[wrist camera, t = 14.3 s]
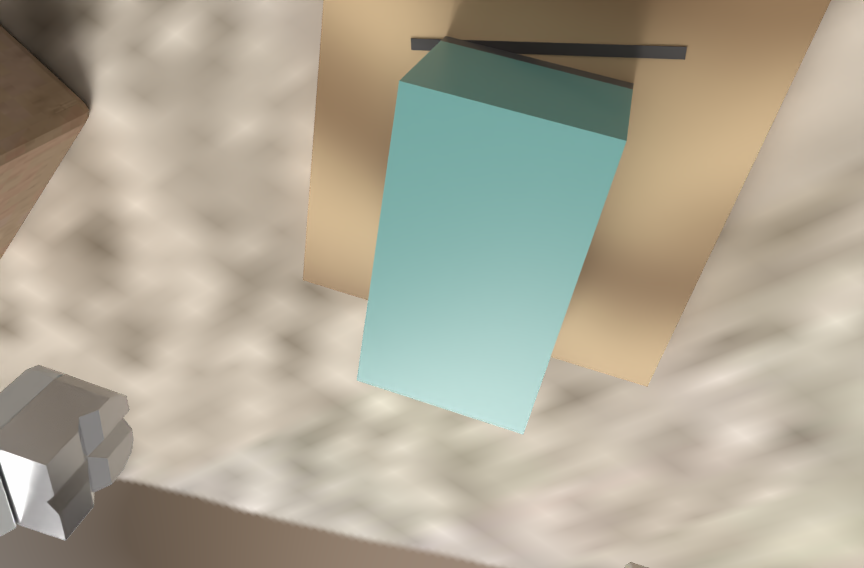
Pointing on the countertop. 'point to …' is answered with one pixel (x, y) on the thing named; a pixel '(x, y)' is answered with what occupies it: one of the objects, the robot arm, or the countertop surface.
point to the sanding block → (486, 225)
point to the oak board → (639, 164)
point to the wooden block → (30, 131)
